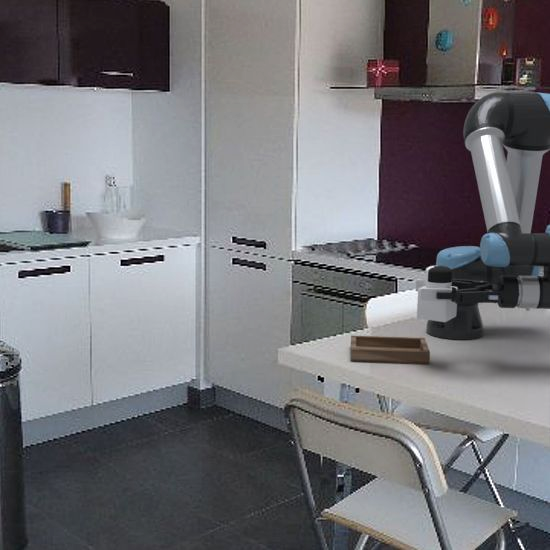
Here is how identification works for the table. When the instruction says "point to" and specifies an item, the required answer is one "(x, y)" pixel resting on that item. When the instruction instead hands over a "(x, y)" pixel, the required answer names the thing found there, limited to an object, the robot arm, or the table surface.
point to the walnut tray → (389, 350)
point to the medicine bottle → (437, 309)
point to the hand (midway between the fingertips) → (418, 289)
